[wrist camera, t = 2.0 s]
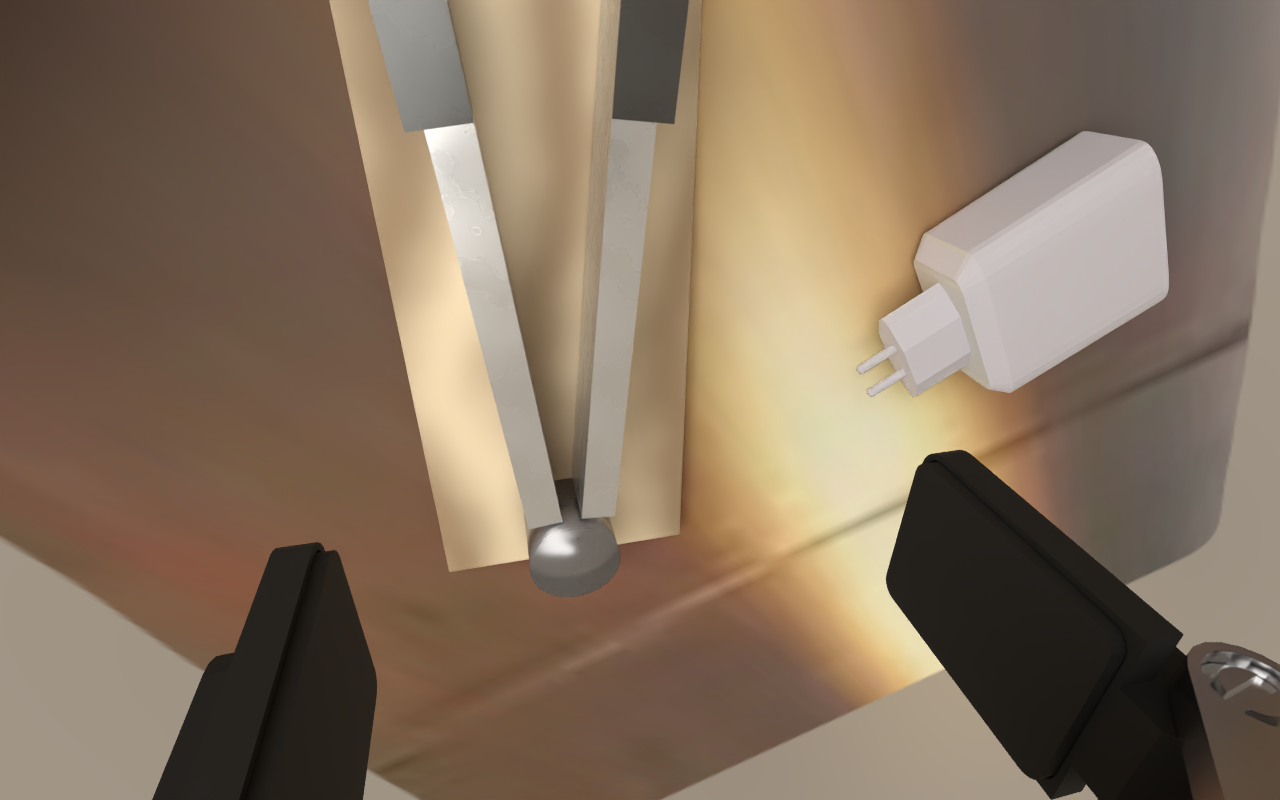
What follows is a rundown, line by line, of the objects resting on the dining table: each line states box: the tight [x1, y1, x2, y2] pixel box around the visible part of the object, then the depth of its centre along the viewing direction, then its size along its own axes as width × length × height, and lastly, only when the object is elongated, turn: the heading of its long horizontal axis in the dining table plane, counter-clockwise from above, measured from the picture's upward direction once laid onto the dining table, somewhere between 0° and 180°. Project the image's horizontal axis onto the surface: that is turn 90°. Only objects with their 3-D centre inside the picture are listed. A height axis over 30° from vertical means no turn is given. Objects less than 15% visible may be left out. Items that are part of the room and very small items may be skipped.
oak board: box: [329, 0, 702, 572], centre depth 29 cm, size 13×28×1 cm, turn 0°
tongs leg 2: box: [572, 0, 689, 519], centre depth 26 cm, size 22×2×4 cm, turn 174°
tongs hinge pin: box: [524, 478, 620, 597], centre depth 33 cm, size 4×4×4 cm
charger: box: [857, 131, 1169, 397], centre depth 32 cm, size 5×9×15 cm
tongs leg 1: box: [368, 0, 562, 529], centre depth 25 cm, size 22×2×4 cm, turn 6°
